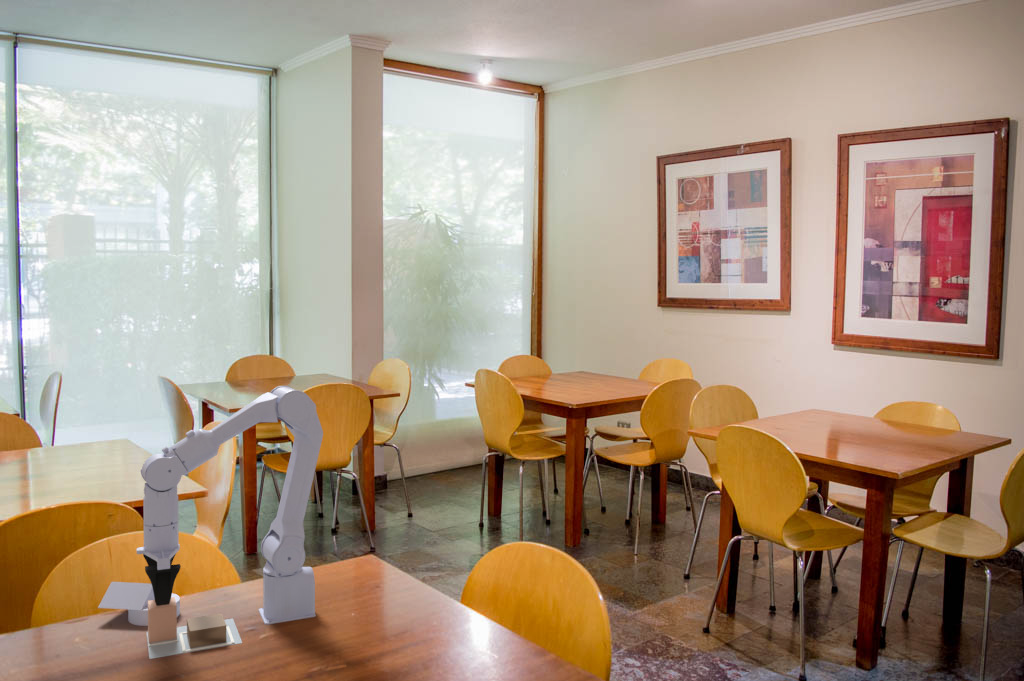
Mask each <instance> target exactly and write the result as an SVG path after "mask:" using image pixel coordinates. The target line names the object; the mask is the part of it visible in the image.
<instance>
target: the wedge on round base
mask: <svg viewBox="0 0 1024 681" xmlns="http://www.w3.org/2000/svg"><path fill="white" fill-rule="evenodd" d="M171 597H175V601H176V605H177V618H178V617H179V616H180V614H181V598H180V596H179V595H178V594H176V593H173V592H172V595H171ZM150 600H155V598H154V593H153V587H152V584H151V583H146V582H145V583H144V582H125V581H124V582H123V581H111V582H110V584H109V586H108V588H107V590H106V592H105V593H104V595H103V597H102V599H101V601H100V603H99V605H98V607H97V609H112V610H113V609H114V610H127V612H128V616H127V617H128V619H127V621H128V622H129V623H130V624H132V625H134V626H141V627H143V626H144V627H148V601H150Z"/></svg>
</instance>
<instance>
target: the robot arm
mask: <svg viewBox="0 0 1024 681" xmlns="http://www.w3.org/2000/svg"><path fill="white" fill-rule="evenodd" d="M279 421H281V422H282V423H284V425H285V426H286V428H287V429H288V431H290V433H291V435H292V436H293V438H294V439H293V444H292V448H291V452H290V457H289V462H288V464H287V468H286V473H285V479H284V481H283V487H282V490H281V496H280V501H279V505H278V509H277V513H276V516H275V518H274V519H273V520H272V522H271V523H270V526H269V530H268V532H267V533H266V535H265V536H264V538H263V539H262V541H261V543H260V551H261V552H260V553H261V555H262V557H263V558H264V559H266V562H265V565H264V566H263V568H262V569H263V570H262V571H263V572H262V573H263V576H262V577H263V579H262V580H263V584H262V586H263V588H262V590H263V591H262V592H263V594H262V595H263V598H262V600H263V604H262V605H263V607H260V608H258V613H259V615H260V617H261V619H262V621H263V623H264V625H267V626H268V625H273V624H274V625H275V624H280V623H286V622H291V621H297V620H302V619H303V620H304V619H310V618H315V617H316V616H317V615H316V596H315V595H316V582H315V580H316V579H315V574H314V569H313V568H312V566H303V565H304V563H305V562H306V561H305V559H306V551H305V545H304V542H305V539H306V536H305V528H304V520H305V517H306V516H305V515H306V513H307V512H306V511H307V508H308V502H309V498H310V495H311V489H312V486H313V485H312V484H313V482H314V478H315V477H314V476H315V473H316V467H317V463H318V459H319V455H320V450H321V446H322V442H323V437H324V431H323V428H322V425H321V421H320V418H319V415H318V413H317V405H316V403H315V402H314V401H313V400H312V398H311V397H310V396H309V395H308V394H307V393H306V392H304V391H302V390H299V389H294V388H293V387H291V386H289V385H278V386H276V387H275V388H273V389H272V390H271V391H270V392H269V391H268V392H264V393H262V394H261V395H259V396H258V397H257V398H255V399H254V400H252V401H251V402H249V403H248V404H246V405H245V406H243V407H242V408H240V409H239V410H237V411H236V412H234V413H233V414H231V415H230V416H228V417H227V418H226V419H224V420H223V421H221V422H220V423H219V424H217V425H216V426H214V427H213V428H211V429H209V430H208V429H203V428H198V429H197V430H195V431H194V430H193V429H190V430H188V431H187V432H185V435H186V436H185V437H184V438H182V439H180V440H179V441H178V442H176V443H174V444H173V445H171V446H169V447H168V446H165V447H162V448H161V452H162V453H155V454H152V455H150V456H149V457H147V458H146V459H145V461H144V463H143V464H142V466H141V469H140V475H141V478H142V479H143V481H145V483H144V486H143V487H144V488H143V494H144V496H143V508H142V509H143V546H141V547H140V546H139V547H136V554H137V555H142V556H143V558H144V560H145V562H146V563H147V565H144V570H145V573H146V575H147V577H148V580H149V581H150V584H152V587H153V593H154V598H155V602H156V605H157V606H161V605H168V604H169V603H170V600H171V595H172V593H173V589H174V583H175V581H176V578H177V576H178V574H179V572H180V570H181V564H180V563H178V564H173V561H174V558H175V556H176V554H177V553H178V552H179V551H180V549H181V547H180V543H179V495H178V485H179V483H180V481H181V479H182V477H183V476H186V475H187V474H189V473H191V472H193V471H194V470H196V469H197V468H198V467H200V466H202V465H204V464H205V463H207V462H208V461H210V460H211V459H213V458H215V457H216V456H217V455H218V452H219V449H220V447H221V445H222V444H224V443H226V442H227V441H229V440H232V439H233V438H235V437H236V436H238V435H240V434H241V433H243V432H245V431H247V430H248V429H251V428H252V427H253V426H256V425H257V424H260V423H279Z"/></svg>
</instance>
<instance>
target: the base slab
mask: <svg viewBox="0 0 1024 681" xmlns="http://www.w3.org/2000/svg"><path fill="white" fill-rule="evenodd" d="M224 620H225V618H224V616H223V613H217V614H216V613H215V614H209V615H204V616H203V615H202V616H197V617H190V618H186V626H187V637H188V642H189V646H190V648H195V647H201V646H206V645H212V644H218V643H224V642H226V623H225V621H224Z"/></svg>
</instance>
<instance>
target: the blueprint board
mask: <svg viewBox="0 0 1024 681" xmlns="http://www.w3.org/2000/svg"><path fill="white" fill-rule="evenodd" d="M224 621H225V623H226V642H224V643H218V644H212V645H206V646H201V647H195V648H190V646H189V642H188V637H187V625H184V626H183V625H182V626H177V639H171V640H165V641H158V642H152V643H149V637H148V631H146V632H145V633H146V640H147V648H148V649H147V651H148V658H149V660H152V659H158V658H163V657H170V656H174V655H175V656H176V655H181V654H187V653H193V652H199V651H203V650H204V651H206V650H209V649H217V648H223V647H229V646H233V645H240V644H243V640H242V639H241V635H240V633H239V630H238V628H237V626H236V623H235V620H234V618H227V619H224Z"/></svg>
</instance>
